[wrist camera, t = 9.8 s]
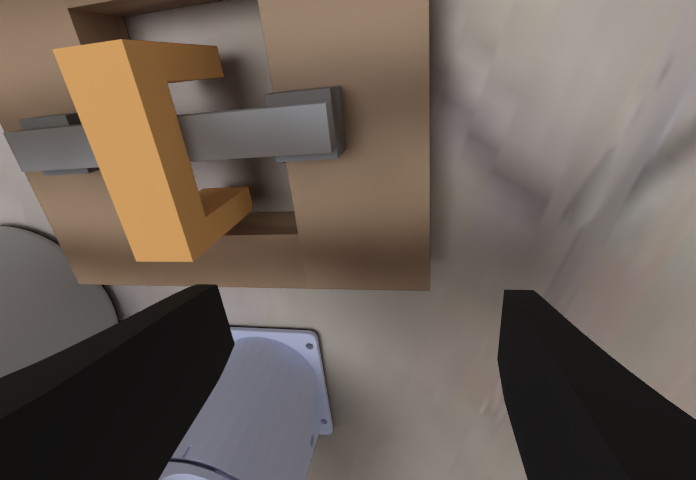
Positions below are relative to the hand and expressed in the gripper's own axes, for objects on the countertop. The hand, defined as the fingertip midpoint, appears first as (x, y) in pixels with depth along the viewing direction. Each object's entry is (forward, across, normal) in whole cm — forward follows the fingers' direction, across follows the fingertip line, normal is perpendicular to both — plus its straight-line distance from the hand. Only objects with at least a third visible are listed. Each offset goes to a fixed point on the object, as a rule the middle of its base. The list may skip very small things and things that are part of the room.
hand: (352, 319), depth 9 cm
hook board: (+10, +8, -4) cm, 14 cm away
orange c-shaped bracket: (+9, +8, -4) cm, 12 cm away
